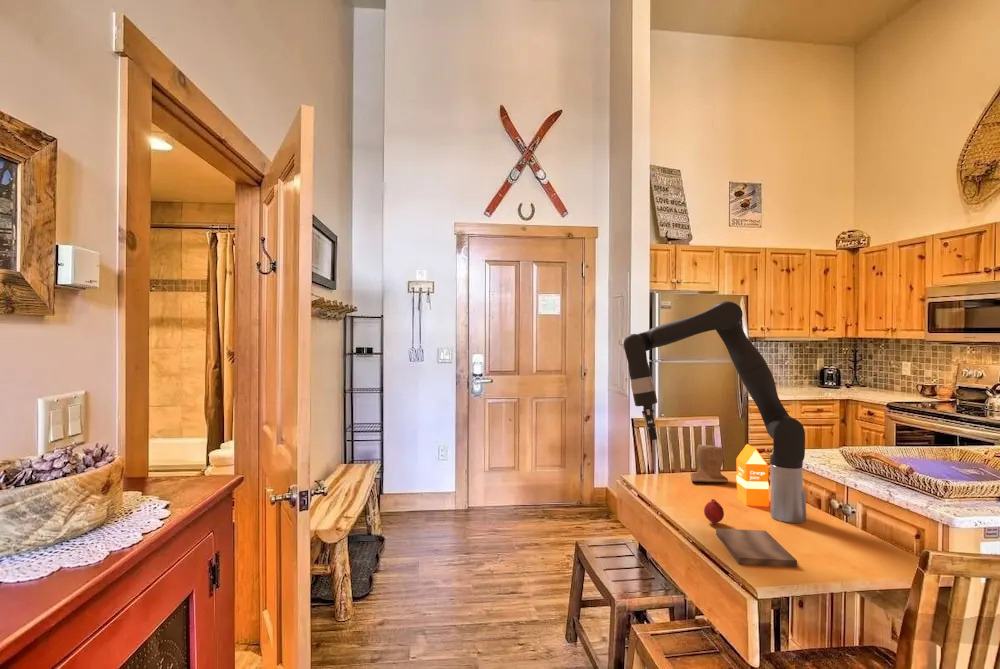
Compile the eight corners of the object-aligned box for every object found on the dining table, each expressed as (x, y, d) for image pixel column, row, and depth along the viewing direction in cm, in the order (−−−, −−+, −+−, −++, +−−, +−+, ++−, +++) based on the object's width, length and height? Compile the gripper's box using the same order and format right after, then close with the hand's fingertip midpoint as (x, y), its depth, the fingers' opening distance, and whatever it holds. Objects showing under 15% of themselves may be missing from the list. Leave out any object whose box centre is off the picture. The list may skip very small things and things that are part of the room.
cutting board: (765, 536, 145) (765, 530, 145) (797, 567, 125) (797, 560, 125) (716, 534, 147) (715, 528, 147) (739, 564, 127) (739, 557, 127)
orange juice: (758, 498, 180) (757, 443, 181) (769, 506, 172) (768, 449, 172) (736, 497, 181) (735, 443, 182) (745, 505, 172) (745, 448, 173)
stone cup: (721, 477, 208) (720, 442, 209) (731, 485, 197) (730, 448, 197) (684, 476, 210) (684, 441, 210) (692, 484, 198) (691, 447, 199)
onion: (707, 519, 159) (707, 494, 160) (726, 523, 156) (725, 498, 156) (701, 524, 155) (701, 499, 155) (721, 528, 151) (720, 502, 151)
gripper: (655, 389, 161) (666, 439, 159) (653, 388, 175) (663, 434, 173) (632, 393, 163) (642, 442, 161) (632, 392, 177) (641, 437, 174)
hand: (653, 438), depth 167 cm, fingers open, 8 cm apart
